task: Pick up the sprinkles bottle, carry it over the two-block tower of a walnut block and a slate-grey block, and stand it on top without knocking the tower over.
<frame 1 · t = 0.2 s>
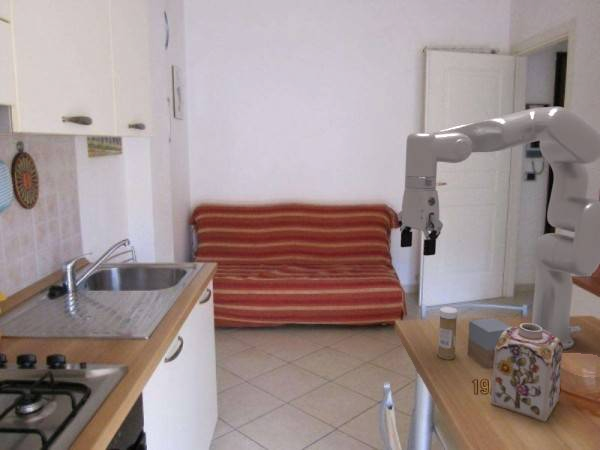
hand: (417, 250, 126), 30 cm above the table, tool pointing down, fingers open, 9 cm apart
decorative jar: (524, 403, 111), on the table
walnut base block: (489, 360, 132), on the table, touching slate top block
slate top block: (490, 342, 131), point 5 cm above the table, touching walnut base block
sprinkles bottle: (446, 357, 134), on the table
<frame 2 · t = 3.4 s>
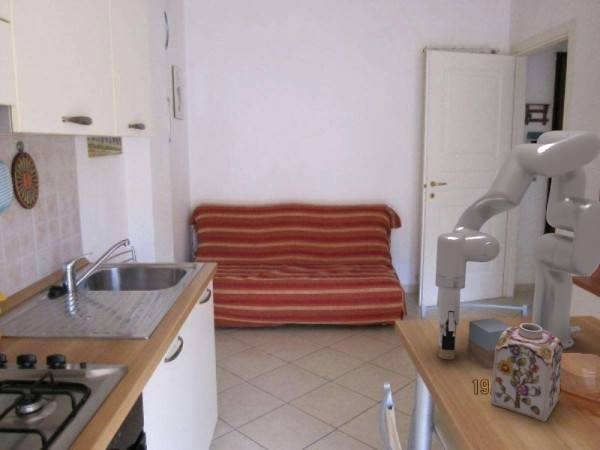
hand: (446, 344, 133), 3 cm above the table, tool pointing down, fingers closed on sprinkles bottle, 4 cm apart
sprinkles bottle: (446, 357, 134), on the table, touching gripper
everything else where it was.
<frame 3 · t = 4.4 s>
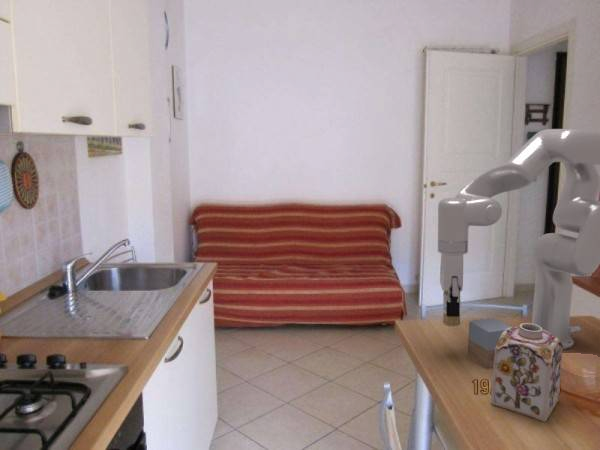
hand: (451, 311, 132), 13 cm above the table, tool pointing down, fingers closed on sprinkles bottle, 4 cm apart
sprinkles bottle: (451, 324, 133), point 9 cm above the table, touching gripper
everything else where it was.
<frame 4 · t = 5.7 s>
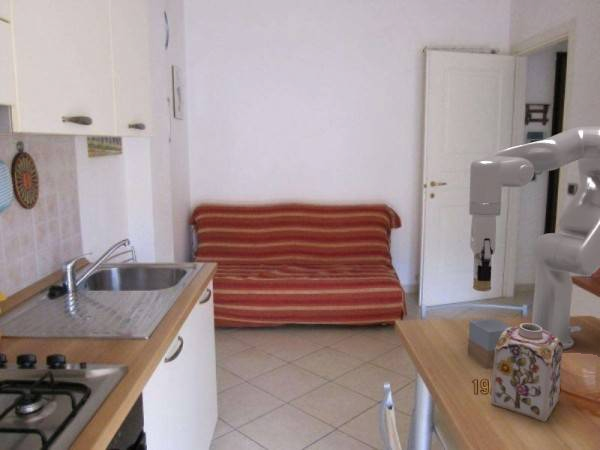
hand: (482, 276, 129), 23 cm above the table, tool pointing down, fingers closed on sprinkles bottle, 4 cm apart
sprinkles bottle: (481, 289, 130), point 19 cm above the table, touching gripper
everything else where it was.
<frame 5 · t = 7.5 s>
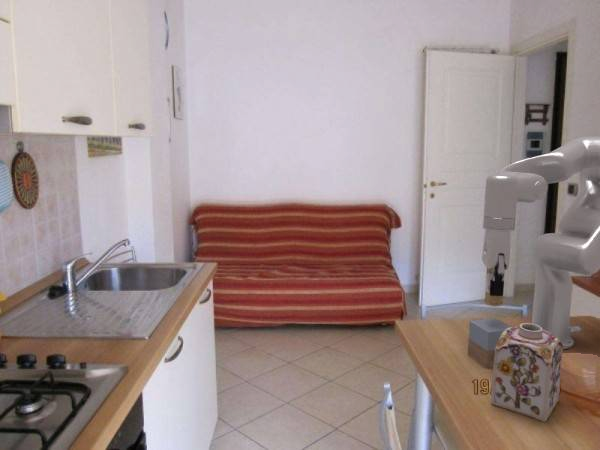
hand: (494, 291, 129), 19 cm above the table, tool pointing down, fingers closed on sprinkles bottle, 4 cm apart
sprinkles bottle: (493, 304, 129), point 15 cm above the table, touching gripper
everything else where it was.
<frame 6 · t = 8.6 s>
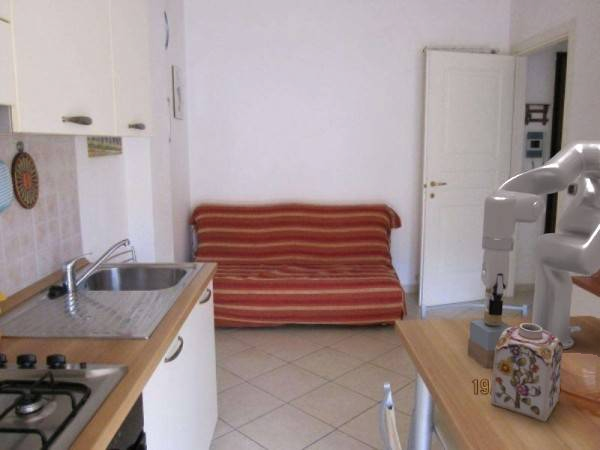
hand: (493, 310, 130), 14 cm above the table, tool pointing down, fingers closed on sprinkles bottle, 4 cm apart
sprinkles bottle: (492, 323, 130), point 10 cm above the table, touching gripper
everything else where it was.
when the fingers open (13 cm above the table, at t = 9.9 s): sprinkles bottle stays where it is, resting on slate top block.
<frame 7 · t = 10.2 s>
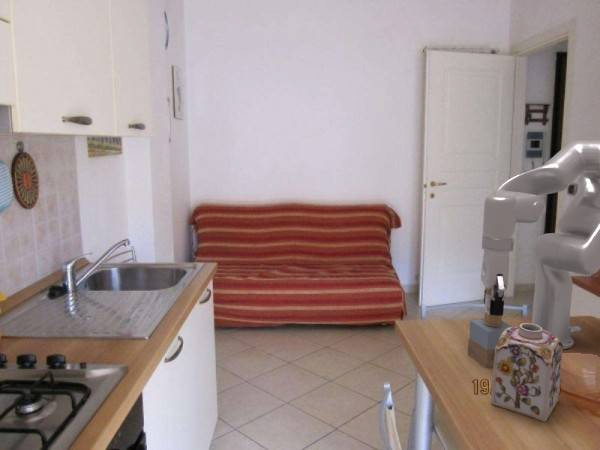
hand: (493, 309, 130), 14 cm above the table, tool pointing down, fingers open, 7 cm apart
slate top block: (491, 342, 131), point 5 cm above the table, touching sprinkles bottle, walnut base block
sprinkles bottle: (492, 325, 131), point 10 cm above the table, touching slate top block
everything else where it was.
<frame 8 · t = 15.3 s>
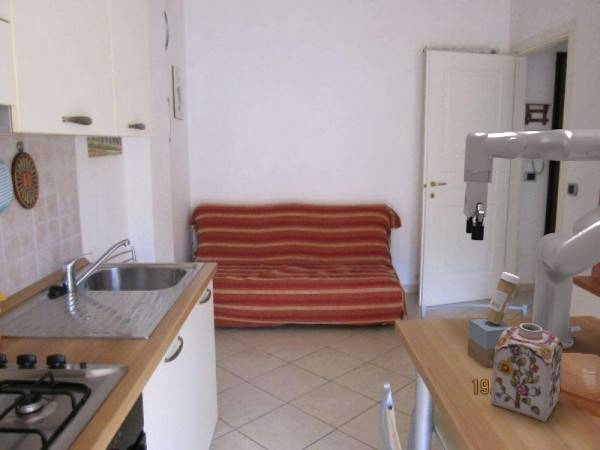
hand: (474, 236, 142), 30 cm above the table, tool pointing down, fingers open, 9 cm apart
at the end: sprinkles bottle 0.0 cm off-centre on the slate top block, point 5.6 cm above the slate top block's base; sprinkles bottle tilted 19°; slate top block 0.0 cm off-centre on the walnut base block, point 5.0 cm above the walnut base block's base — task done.
